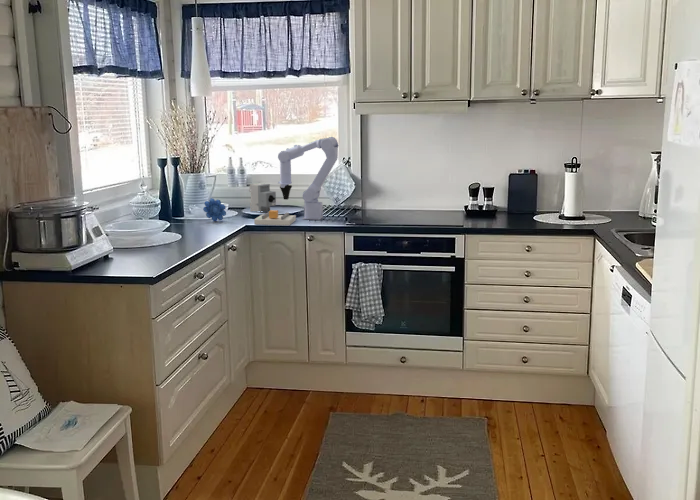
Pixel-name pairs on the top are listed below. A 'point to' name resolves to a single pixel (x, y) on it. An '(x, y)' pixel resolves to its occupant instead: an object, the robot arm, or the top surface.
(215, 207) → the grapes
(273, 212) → the lever
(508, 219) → the top surface
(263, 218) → the panel
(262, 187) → the circuit breaker
